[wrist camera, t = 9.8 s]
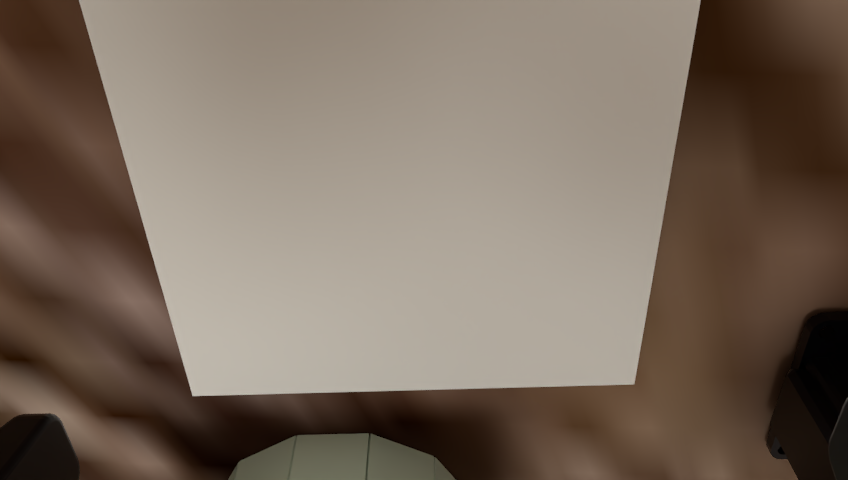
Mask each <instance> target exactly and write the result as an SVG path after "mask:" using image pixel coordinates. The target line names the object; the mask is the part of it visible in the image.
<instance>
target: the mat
mask: <svg viewBox="0 0 848 480" xmlns="http://www.w3.org/2000/svg"><path fill="white" fill-rule="evenodd" d="M79 2H80V6H81V9H82V13H83V16H84V20H85V23H86V27H87V30H88V34H89V37H90V41H91V44H92V48H93V51H94V54H95V58H96V61H97V65H98V68H99V72H100V75H101V79H102V82H103V86H104V89H105V93H106V96H107V100H108V103H109V107H110V110H111V114H112V117H113V121H114V124H115V127H116V131H117V134H118V138H119V141H120V145H121V148H122V152H123V155H124V159H125V162H126V166H127V169H128V173H129V176H130V180H131V183H132V187H133V190H134V194H135V197H136V200H137V204H138V207H139V211H140V214H141V218H142V221H143V225H144V228H145V232H146V235H147V239H148V242H149V246H150V249H151V253H152V256H153V260H154V263H155V267H156V270H157V274H158V277H159V280H160V284H161V287H162V291H163V294H164V298H165V301H166V305H167V308H168V312H169V315H170V319H171V322H172V326H173V329H174V333H175V336H176V340H177V343H178V347H179V350H180V353H181V357H182V360H183V364H184V367H185V371H186V374H187V378H188V381H189V385H190V388H191V392H192V395H193V396H216V395H254V394H291V393H329V392H367V391H404V390H442V389H480V388H517V387H555V386H592V385H630V384H634V383H635V377H636V371H637V366H638V360H639V354H640V348H641V343H642V337H643V331H644V325H645V319H646V314H647V308H648V302H649V296H650V291H651V285H652V279H653V273H654V267H655V262H656V256H657V250H658V244H659V239H660V233H661V227H662V221H663V215H664V210H665V204H666V198H667V192H668V187H669V181H670V175H671V169H672V163H673V158H674V152H675V146H676V140H677V135H678V129H679V123H680V117H681V111H682V106H683V100H684V94H685V88H686V83H687V77H688V71H689V65H690V59H691V54H692V48H693V42H694V36H695V31H696V25H697V19H698V13H699V7H700V2H701V0H79Z"/></svg>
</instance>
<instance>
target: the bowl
mask: <svg viewBox="0 0 848 480" xmlns="http://www.w3.org/2000/svg"><path fill="white" fill-rule="evenodd" d="M228 480H456V479H455V478H454V477H453V476H452V475H451V474H450V473H449V472H448V470H447V469H446V468H445V467H444V466H443V465H442V464H441V463H440V462H439V461H438V460H437V458H436V457H434V456H432V455H429V454H427V453H424V452H421V451H418V450H415V449H413V448H410V447H407V446H404V445H401V444H399V443H396V442H393V441H390V440H387V439H385V438H382V437H379V436H376V435H373V434H370V435H369V433H358V434H319V435H297V437H296V436H293V437H291V438H289V439H287V440H284V441H282V442H280V443H278V444H276V445H273V446H271V447H269V448H267V449H265V450H263V451H260V452H258V453H256V454H254V455H252V456H249V457H247V458H245V459H243V460H241V461H240V462H238V464H237V466H236V467H235V469H234V471H233V472H232V474H231V476H230V477H229V479H228Z"/></svg>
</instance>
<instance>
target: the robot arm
mask: <svg viewBox="0 0 848 480" xmlns="http://www.w3.org/2000/svg"><path fill="white" fill-rule="evenodd" d="M824 327H826V328H825V329H823V330H821V329H822V328H824ZM770 426H771V429H770V432H769V436H768V439H767V443H766V445H767V447H768V449H769V451H770V453H771V455H772V456H773V457H775V458H777V459H788V461H789V462H790V464H791V466H792V468H793V470H794V472H795V474H796V476H797V478H798V480H848V312H824V313H819V314H816V315H814V316H812V317H811V318H810V319H809V320H808V321H807V322H806V324H805V326H804V329H803V332H802V335H801V338H800V341H799V344H798V348H797V351H796V354H795V357H794V360H793V363H792V366H791V369H790V371H789V372H788V373H787V375H786V377H785V380H784V383H783V386H782V389H781V392H780V395H779V398H778V401H777V404H776V407H775V410H774V413H773V416H772V419H771V422H770ZM79 473H80V472H79V462H78V458H77V456H76V453H75V451H74V449H73V447H72V444H71V442H70V440H69V437H68V435H67V433H66V430H65V428H64V426H63V424H62V422H61V420H60V418H58V417H57V416H56V415H55V414H50V413H49V414H22V415H18V416H16V417H14V418H13V419H11V420H10V421H9V422H7V423H6V424H5V425H3V426H2V427H1V428H0V480H79Z"/></svg>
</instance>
